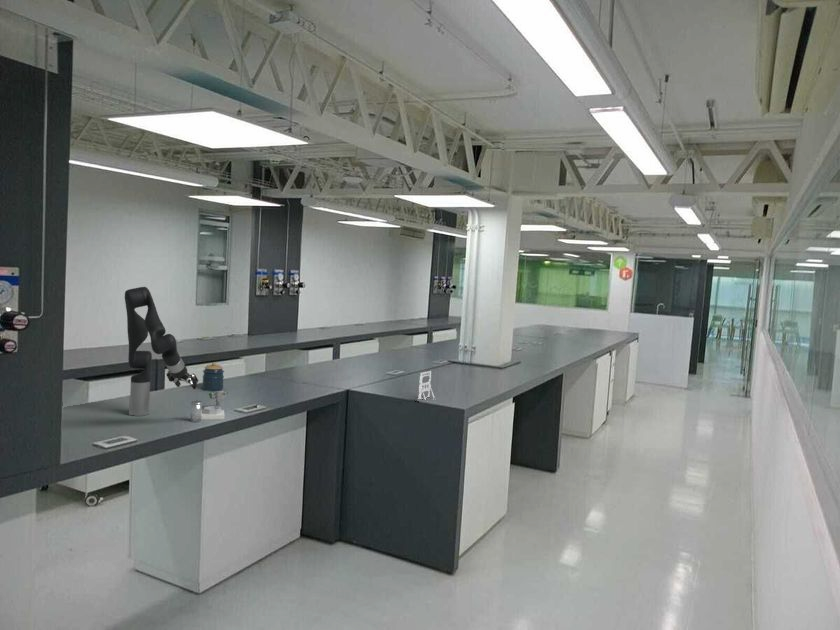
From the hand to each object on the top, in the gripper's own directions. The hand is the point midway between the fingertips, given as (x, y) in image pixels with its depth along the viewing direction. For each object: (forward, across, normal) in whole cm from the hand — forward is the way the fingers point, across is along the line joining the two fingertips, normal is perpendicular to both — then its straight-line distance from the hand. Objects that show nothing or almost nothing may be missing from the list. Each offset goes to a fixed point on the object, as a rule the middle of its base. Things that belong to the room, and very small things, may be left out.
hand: (187, 386), depth 299 cm
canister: (+76, -32, +49) cm, 96 cm away
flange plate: (+30, +3, +3) cm, 30 cm away
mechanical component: (+41, -2, +14) cm, 43 cm away
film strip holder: (+92, +102, +71) cm, 154 cm away
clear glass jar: (+21, 0, -6) cm, 22 cm away
